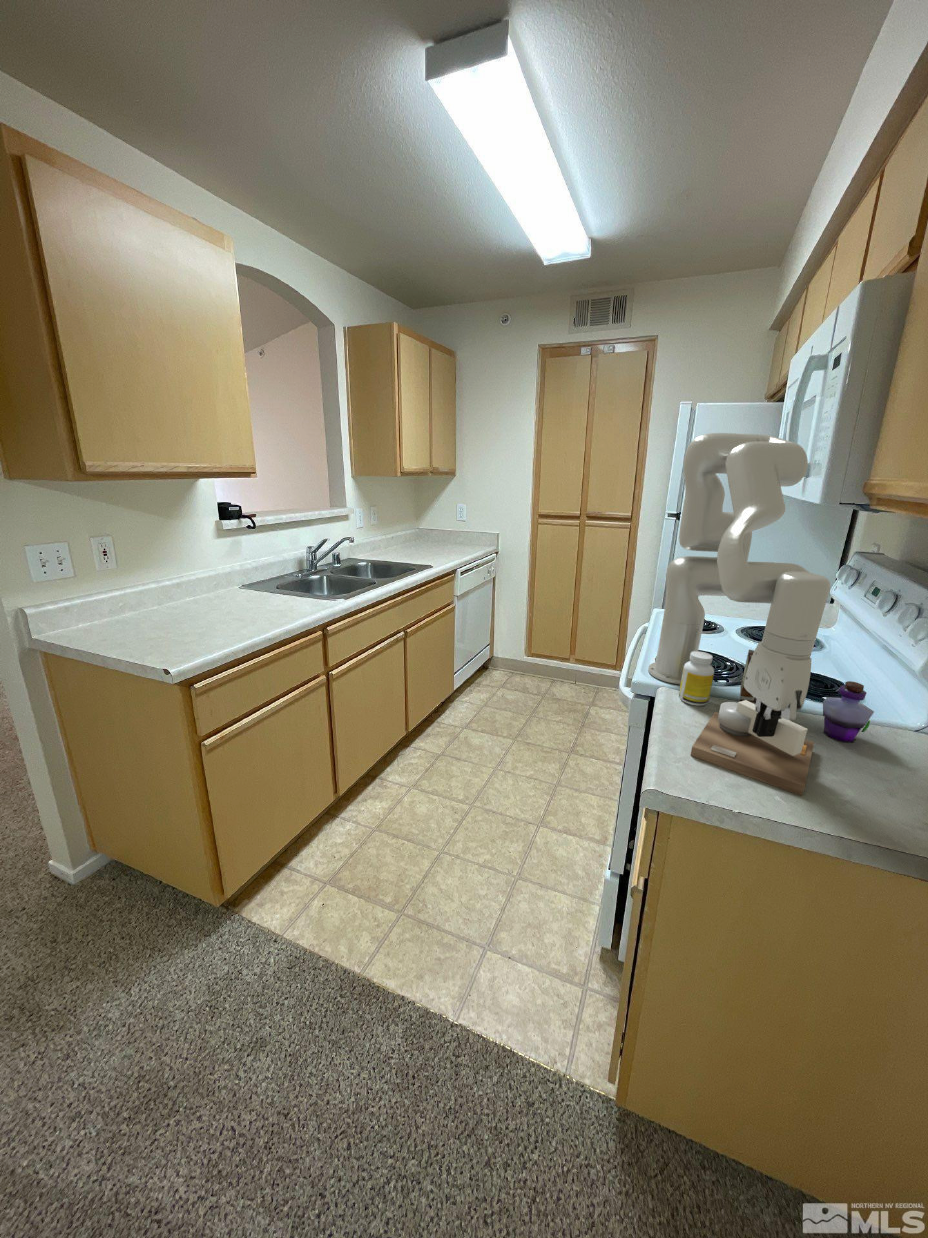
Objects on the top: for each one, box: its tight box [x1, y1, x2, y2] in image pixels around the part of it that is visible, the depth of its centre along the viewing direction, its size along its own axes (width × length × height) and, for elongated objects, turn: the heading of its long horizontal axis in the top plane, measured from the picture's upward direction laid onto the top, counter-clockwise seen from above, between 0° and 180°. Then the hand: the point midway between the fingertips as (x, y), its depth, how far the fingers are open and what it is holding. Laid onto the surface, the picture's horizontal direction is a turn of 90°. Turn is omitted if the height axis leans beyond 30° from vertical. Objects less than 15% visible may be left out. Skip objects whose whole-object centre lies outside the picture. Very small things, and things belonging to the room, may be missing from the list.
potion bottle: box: [822, 680, 875, 744], centre depth 100 cm, size 9×9×12 cm
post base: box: [690, 711, 815, 797], centre depth 94 cm, size 18×18×3 cm
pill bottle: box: [678, 650, 715, 707], centre depth 114 cm, size 6×6×12 cm
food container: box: [738, 649, 756, 704], centre depth 116 cm, size 12×6×10 cm, turn 150°
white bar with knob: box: [718, 700, 808, 756], centre depth 95 cm, size 16×7×5 cm, turn 26°
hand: (762, 734), depth 91 cm, fingers closed
